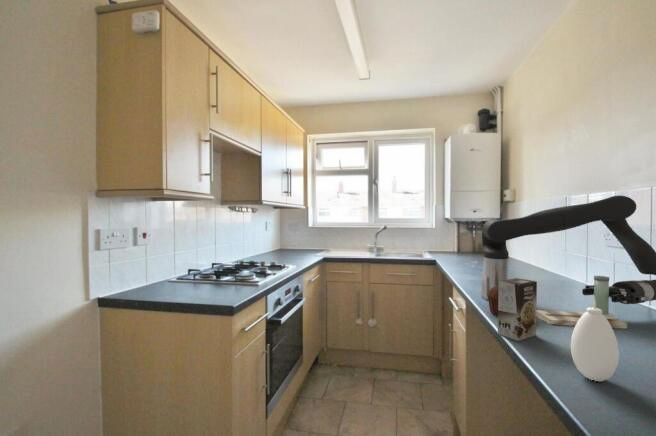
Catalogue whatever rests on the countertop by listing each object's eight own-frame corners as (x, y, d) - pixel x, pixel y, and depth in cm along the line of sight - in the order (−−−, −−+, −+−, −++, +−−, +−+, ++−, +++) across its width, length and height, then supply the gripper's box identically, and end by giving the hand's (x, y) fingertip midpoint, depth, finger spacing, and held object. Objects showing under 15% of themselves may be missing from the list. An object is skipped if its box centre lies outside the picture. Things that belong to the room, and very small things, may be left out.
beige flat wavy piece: (549, 324, 99) (549, 319, 99) (533, 314, 109) (533, 309, 109) (627, 328, 95) (627, 323, 95) (603, 317, 105) (603, 313, 105)
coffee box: (518, 342, 86) (519, 284, 85) (496, 333, 91) (497, 280, 91) (537, 335, 90) (538, 281, 90) (515, 328, 95) (515, 277, 95)
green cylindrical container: (598, 318, 99) (598, 278, 98) (586, 312, 104) (587, 274, 104) (616, 319, 98) (616, 278, 98) (603, 313, 103) (604, 275, 103)
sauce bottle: (573, 366, 72) (574, 290, 72) (619, 379, 66) (620, 296, 66) (567, 378, 66) (568, 296, 66) (616, 394, 61) (617, 304, 60)
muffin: (531, 319, 104) (532, 289, 104) (502, 321, 102) (502, 291, 102) (506, 308, 116) (506, 282, 115) (479, 310, 114) (479, 283, 114)
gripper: (608, 276, 112) (575, 279, 107) (659, 285, 98) (623, 289, 93) (608, 297, 112) (574, 300, 107) (659, 309, 98) (623, 313, 94)
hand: (597, 295), depth 100 cm, fingers open, 8 cm apart
